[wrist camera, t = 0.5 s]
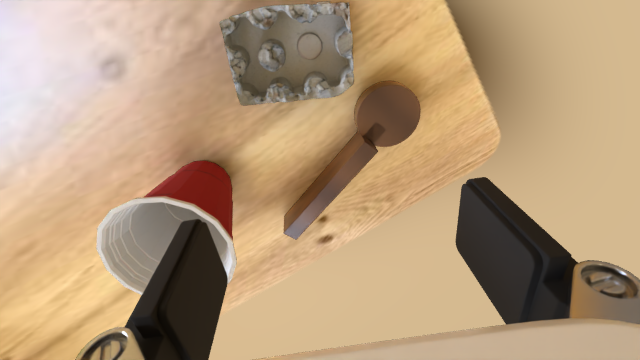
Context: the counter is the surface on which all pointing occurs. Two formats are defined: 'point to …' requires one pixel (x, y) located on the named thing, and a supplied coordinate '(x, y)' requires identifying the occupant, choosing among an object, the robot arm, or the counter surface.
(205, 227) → the robot arm
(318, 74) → the crystal geode chunk
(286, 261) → the counter surface
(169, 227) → the plastic cup
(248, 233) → the counter surface
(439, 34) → the counter surface
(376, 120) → the spoon
